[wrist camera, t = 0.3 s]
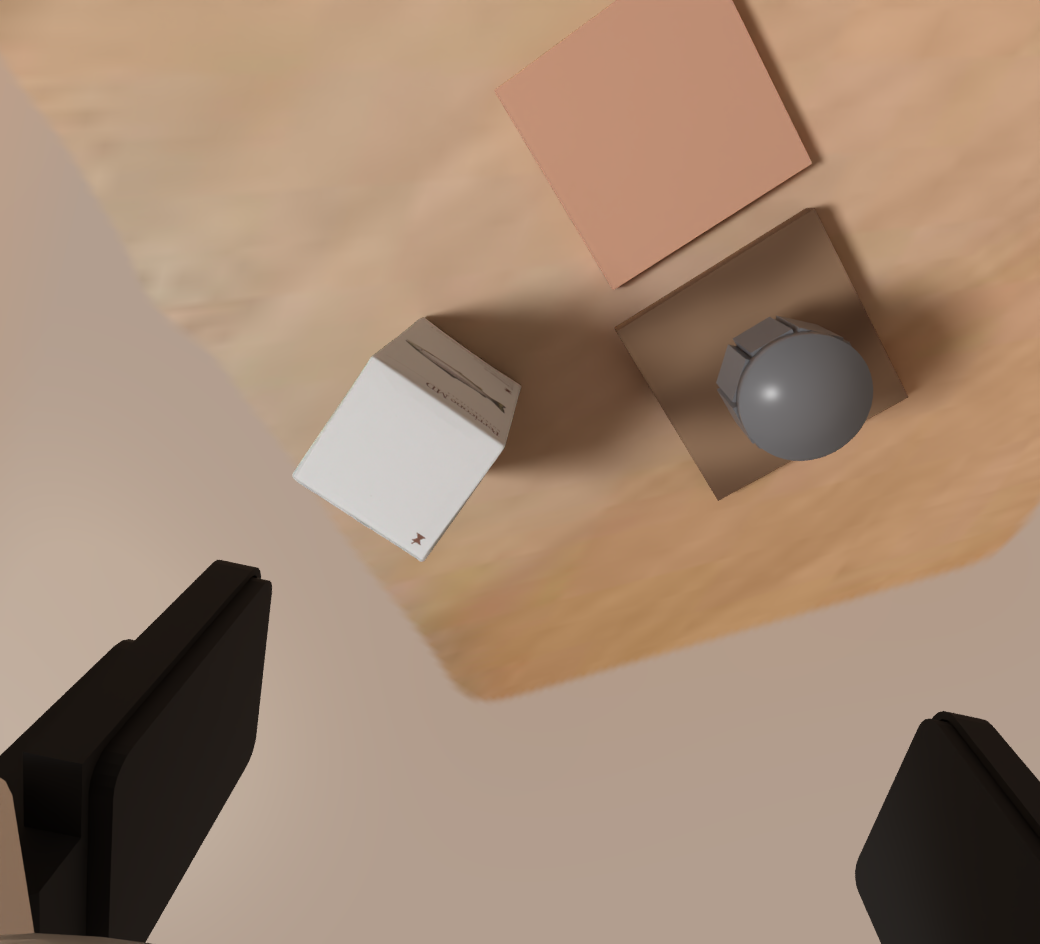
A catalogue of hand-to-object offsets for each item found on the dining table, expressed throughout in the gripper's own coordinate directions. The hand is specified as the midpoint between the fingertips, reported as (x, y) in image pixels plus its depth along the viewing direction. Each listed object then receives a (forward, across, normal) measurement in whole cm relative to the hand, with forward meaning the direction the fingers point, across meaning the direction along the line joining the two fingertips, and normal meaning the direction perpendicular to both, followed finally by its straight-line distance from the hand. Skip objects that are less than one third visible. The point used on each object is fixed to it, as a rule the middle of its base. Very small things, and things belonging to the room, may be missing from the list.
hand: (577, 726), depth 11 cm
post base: (+35, -11, -1) cm, 37 cm away
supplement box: (+36, +7, +5) cm, 37 cm away
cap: (+31, -11, -1) cm, 33 cm away
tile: (+35, -2, -12) cm, 37 cm away
